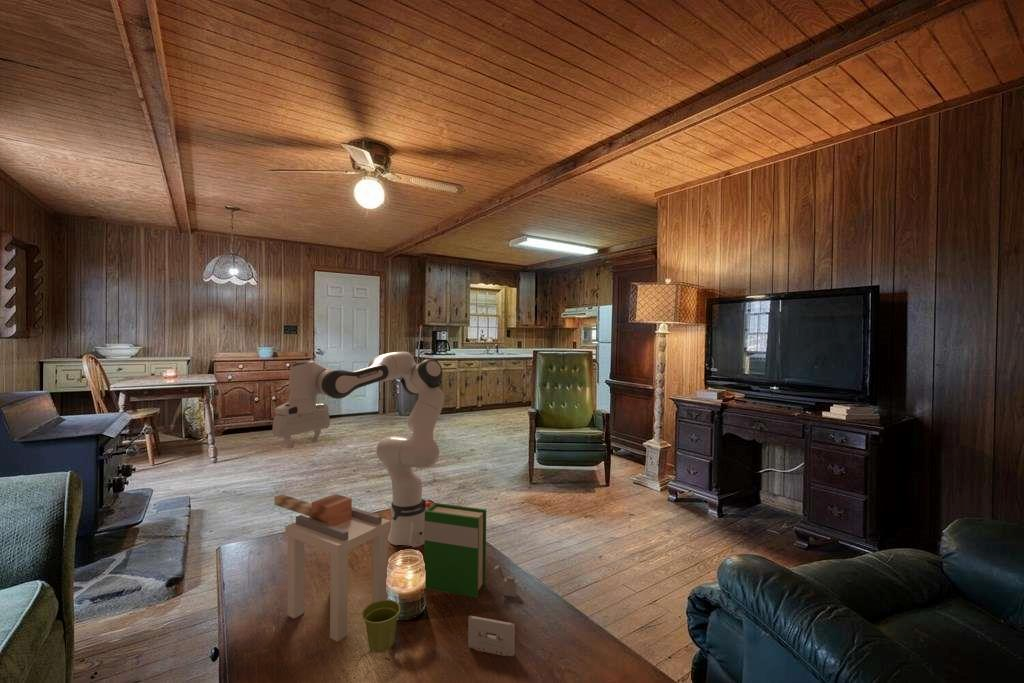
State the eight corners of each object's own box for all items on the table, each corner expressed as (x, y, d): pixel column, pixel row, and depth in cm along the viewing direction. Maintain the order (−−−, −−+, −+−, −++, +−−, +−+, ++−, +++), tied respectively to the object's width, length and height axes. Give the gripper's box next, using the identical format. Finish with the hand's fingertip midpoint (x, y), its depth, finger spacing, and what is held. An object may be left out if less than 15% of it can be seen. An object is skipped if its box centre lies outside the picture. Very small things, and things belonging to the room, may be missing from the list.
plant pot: (363, 662, 106) (363, 626, 106) (360, 637, 115) (360, 604, 115) (403, 651, 110) (403, 616, 110) (397, 628, 118) (397, 596, 118)
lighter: (517, 594, 135) (517, 568, 135) (515, 597, 133) (516, 571, 133) (495, 590, 137) (495, 564, 137) (493, 593, 135) (493, 567, 135)
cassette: (467, 648, 111) (467, 618, 111) (469, 644, 113) (470, 614, 113) (513, 658, 108) (513, 627, 108) (515, 653, 110) (515, 622, 110)
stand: (284, 615, 123) (285, 519, 123) (338, 584, 139) (339, 499, 139) (337, 643, 112) (338, 537, 112) (389, 606, 128) (390, 513, 128)
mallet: (265, 507, 136) (266, 488, 136) (290, 499, 143) (290, 481, 143) (327, 529, 122) (327, 507, 121) (351, 518, 128) (351, 498, 128)
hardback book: (485, 585, 140) (486, 509, 139) (477, 598, 133) (478, 518, 132) (434, 575, 145) (435, 502, 144) (424, 588, 138) (424, 511, 137)
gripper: (322, 402, 167) (322, 438, 168) (269, 409, 150) (269, 450, 150) (333, 403, 164) (333, 440, 164) (281, 411, 147) (280, 452, 147)
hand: (302, 445), depth 157 cm, fingers open, 8 cm apart
